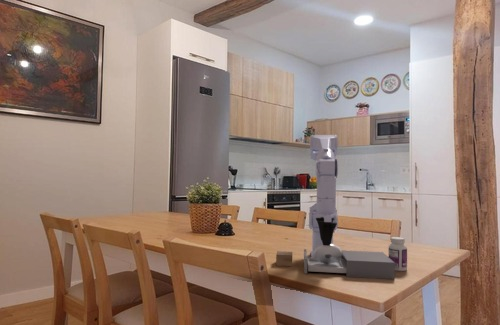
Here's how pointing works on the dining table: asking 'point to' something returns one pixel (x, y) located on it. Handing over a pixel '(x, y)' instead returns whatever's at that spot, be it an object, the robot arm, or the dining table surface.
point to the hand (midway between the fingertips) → (325, 242)
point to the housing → (368, 264)
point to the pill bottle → (398, 253)
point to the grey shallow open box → (324, 265)
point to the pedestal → (283, 258)
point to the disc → (328, 254)
